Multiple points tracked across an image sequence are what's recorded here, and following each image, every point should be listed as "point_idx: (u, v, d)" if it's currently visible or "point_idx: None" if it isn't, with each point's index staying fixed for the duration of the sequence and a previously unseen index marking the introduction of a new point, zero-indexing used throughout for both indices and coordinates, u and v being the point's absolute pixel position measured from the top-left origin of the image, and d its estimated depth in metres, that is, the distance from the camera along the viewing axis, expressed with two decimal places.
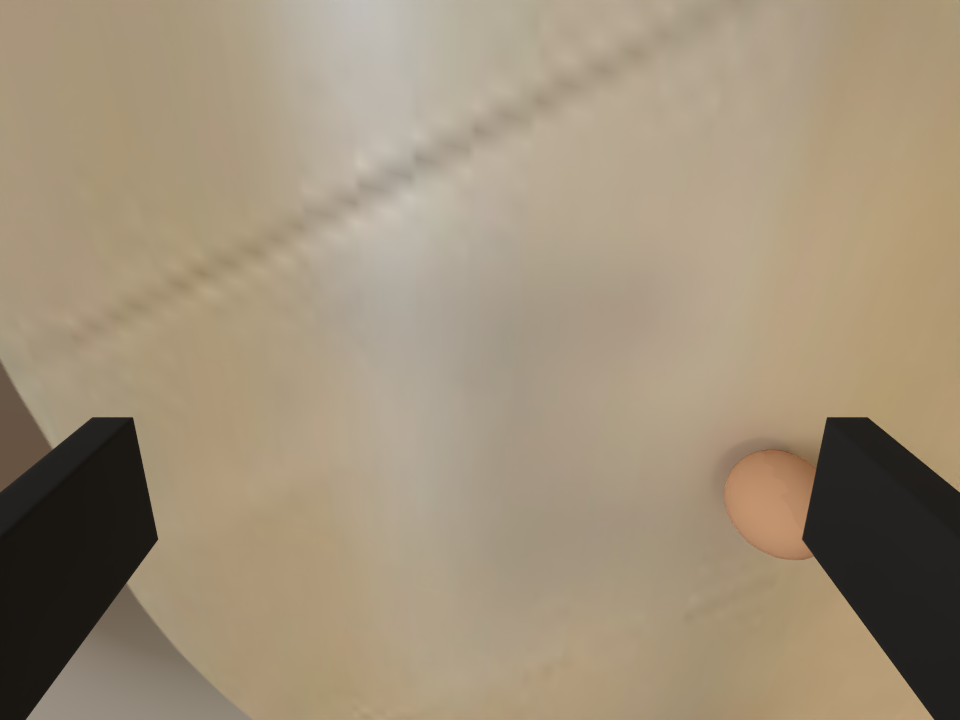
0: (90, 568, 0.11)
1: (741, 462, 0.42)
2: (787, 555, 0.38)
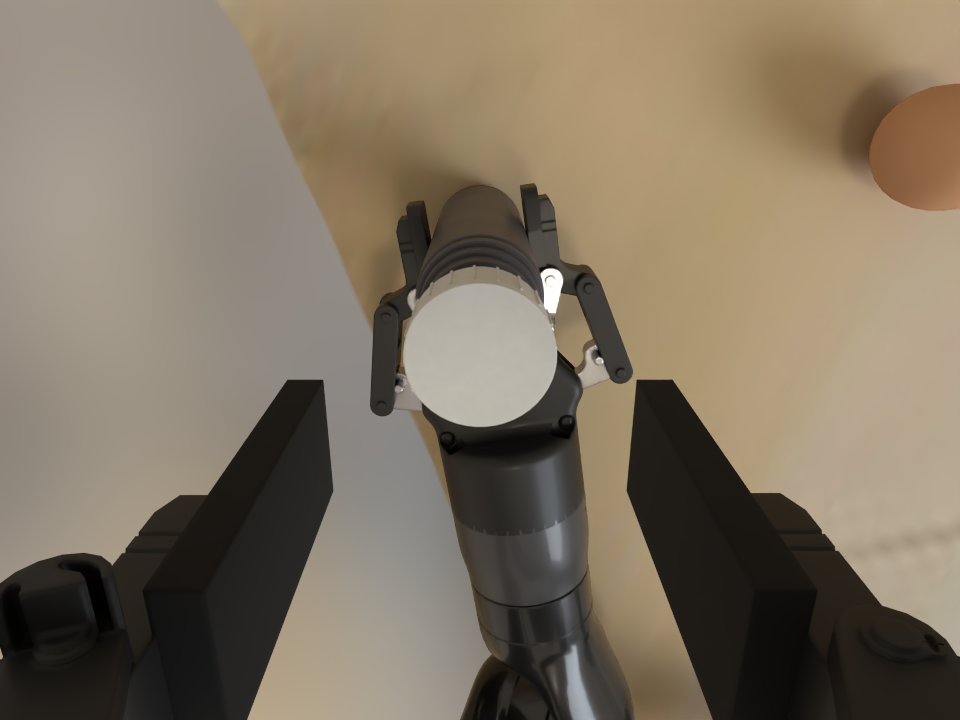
0: (306, 507, 0.13)
1: None
2: None
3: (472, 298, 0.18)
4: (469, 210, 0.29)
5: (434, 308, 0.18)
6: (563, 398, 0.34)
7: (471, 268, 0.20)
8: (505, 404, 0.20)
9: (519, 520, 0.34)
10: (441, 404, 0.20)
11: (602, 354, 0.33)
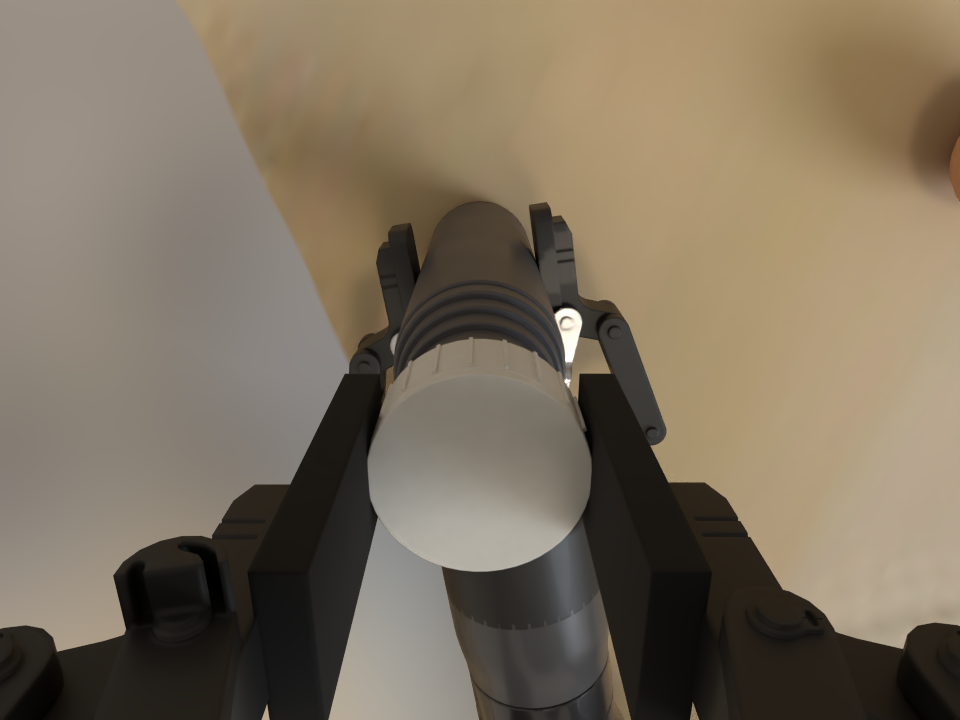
0: (369, 497, 0.13)
1: None
2: None
3: (468, 396, 0.12)
4: (466, 239, 0.23)
5: (411, 410, 0.12)
6: None
7: (467, 342, 0.14)
8: (516, 541, 0.13)
9: (527, 612, 0.28)
10: (423, 541, 0.13)
11: None
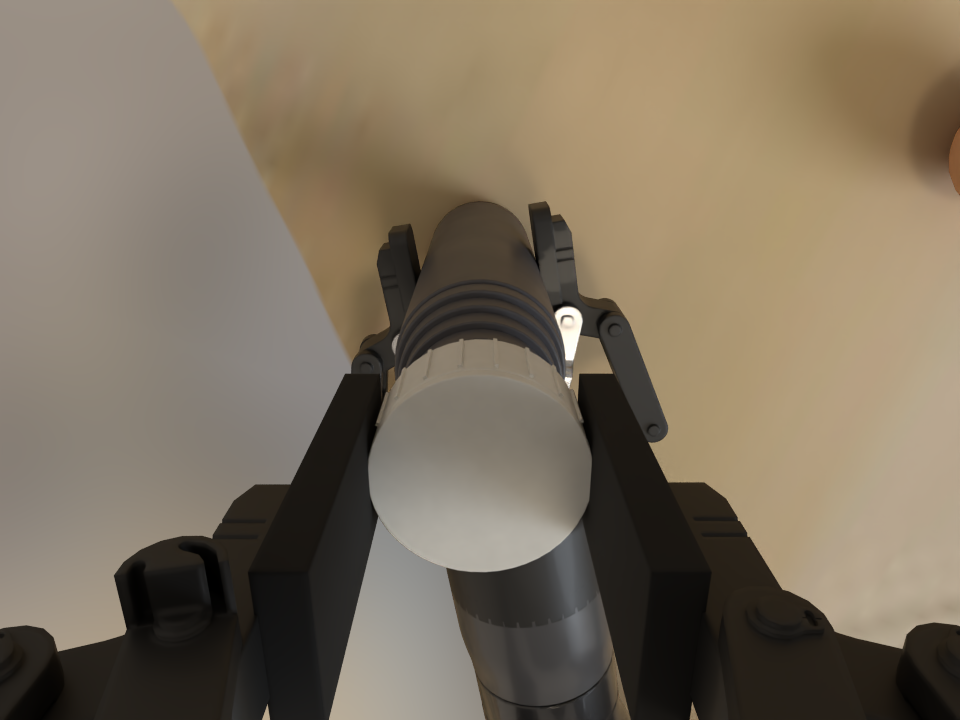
0: (370, 497, 0.13)
1: None
2: None
3: (391, 496, 0.13)
4: (466, 239, 0.23)
5: (413, 540, 0.13)
6: None
7: None
8: (552, 439, 0.13)
9: (532, 610, 0.28)
10: (558, 522, 0.13)
11: (631, 408, 0.27)
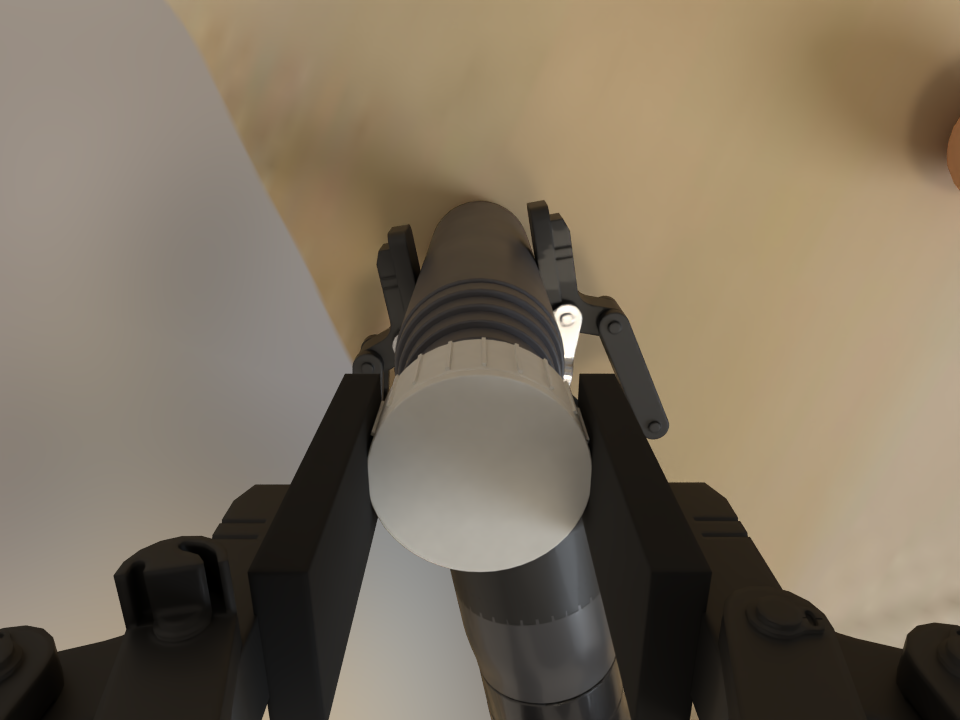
0: (369, 497, 0.13)
1: None
2: None
3: (506, 552, 0.14)
4: (464, 238, 0.24)
5: (555, 532, 0.13)
6: None
7: None
8: (424, 420, 0.12)
9: (535, 607, 0.28)
10: (523, 402, 0.12)
11: (631, 405, 0.27)
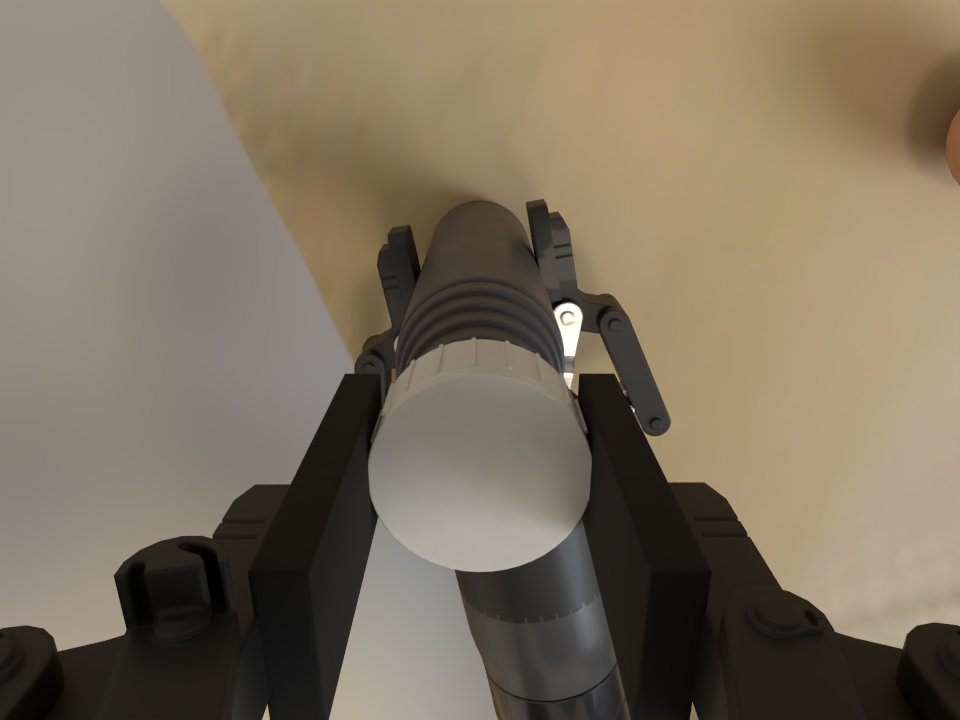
0: (370, 497, 0.13)
1: None
2: None
3: (565, 447, 0.13)
4: (464, 238, 0.24)
5: (536, 403, 0.12)
6: None
7: (574, 400, 0.14)
8: (421, 529, 0.13)
9: (539, 605, 0.28)
10: (389, 449, 0.13)
11: (633, 402, 0.28)
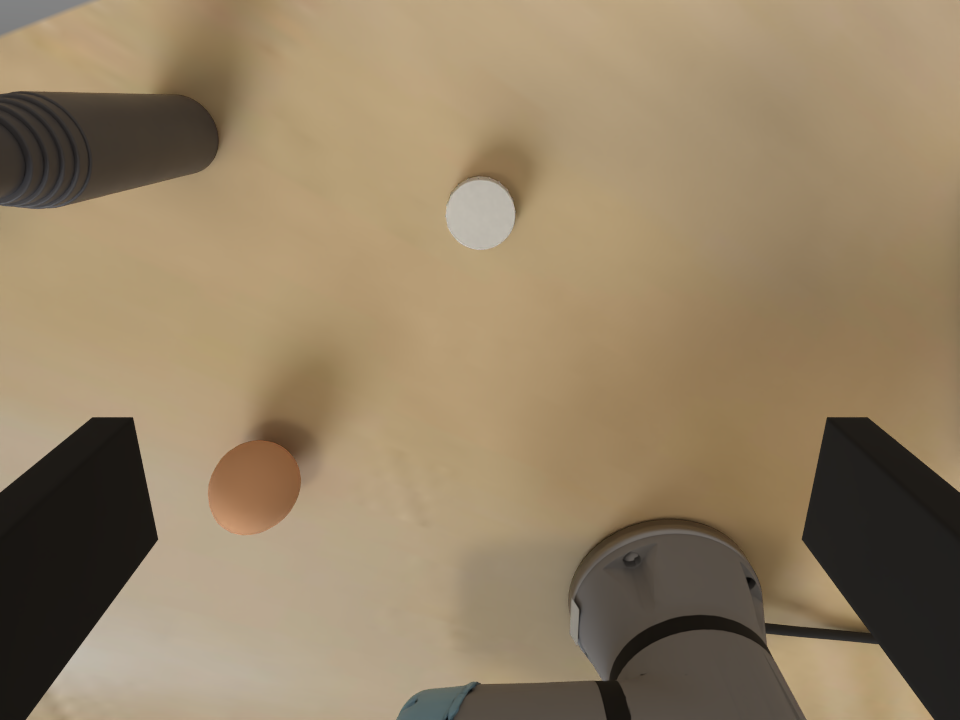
0: (90, 568, 0.11)
1: None
2: (255, 528, 0.44)
3: (506, 203, 0.42)
4: (152, 137, 0.34)
5: (497, 188, 0.42)
6: None
7: None
8: (462, 233, 0.43)
9: None
10: (453, 205, 0.42)
11: None
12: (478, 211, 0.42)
